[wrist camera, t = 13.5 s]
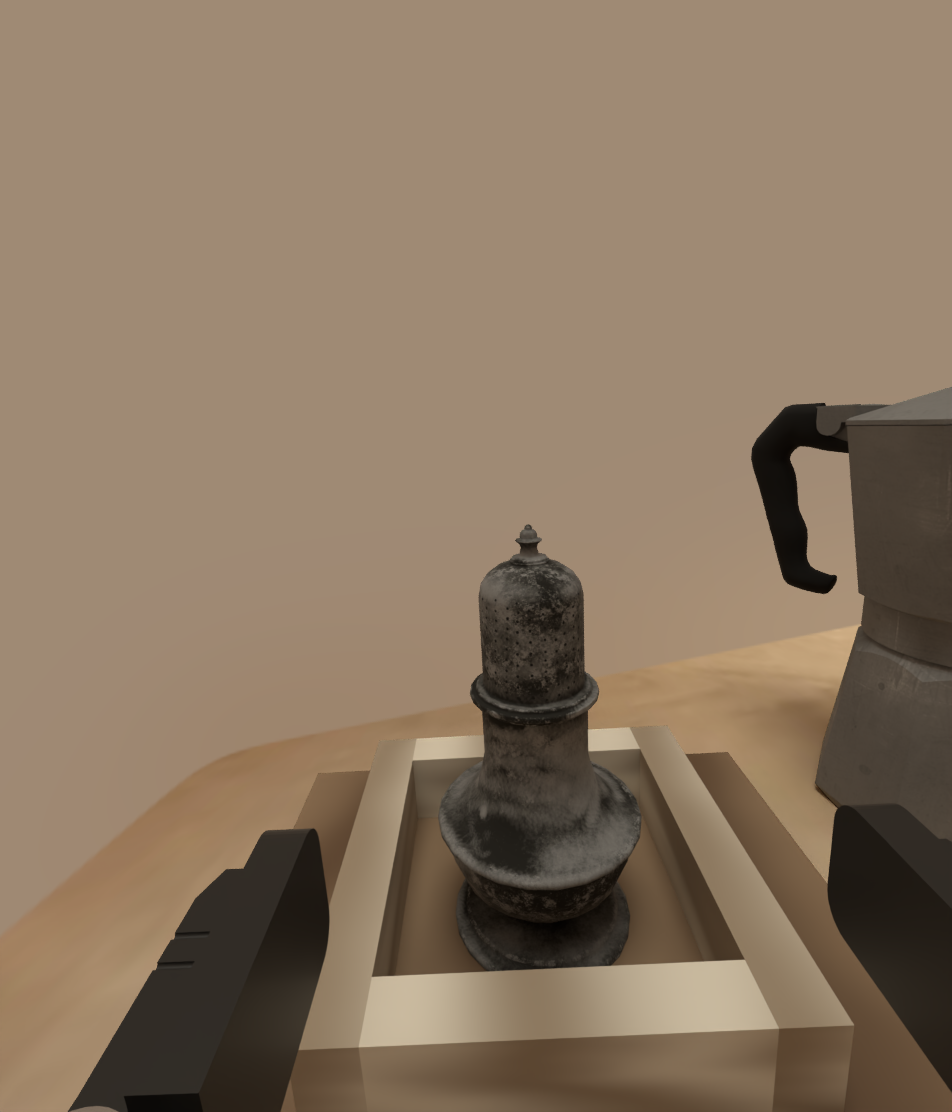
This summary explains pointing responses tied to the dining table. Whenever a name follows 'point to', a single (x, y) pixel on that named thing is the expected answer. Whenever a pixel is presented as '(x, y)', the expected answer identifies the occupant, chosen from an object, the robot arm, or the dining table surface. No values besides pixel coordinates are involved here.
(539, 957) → the salt shaker
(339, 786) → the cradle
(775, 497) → the coffeepot
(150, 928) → the dining table surface
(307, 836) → the robot arm
